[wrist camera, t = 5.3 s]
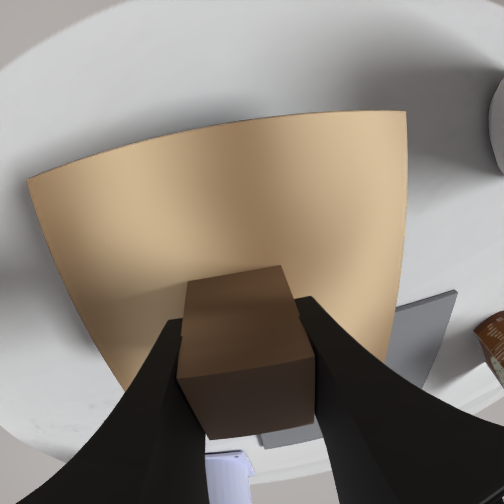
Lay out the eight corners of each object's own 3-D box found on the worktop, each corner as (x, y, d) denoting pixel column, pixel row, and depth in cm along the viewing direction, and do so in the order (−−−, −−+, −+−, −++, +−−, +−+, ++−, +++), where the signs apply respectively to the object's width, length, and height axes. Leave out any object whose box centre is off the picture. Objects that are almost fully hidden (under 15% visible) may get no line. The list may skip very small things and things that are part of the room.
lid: (145, 405, 14) (135, 486, 9) (38, 174, 8) (-57, 231, 4) (375, 366, 14) (411, 440, 10) (393, 109, 8) (502, 129, 4)
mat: (264, 446, 26) (264, 449, 25) (236, 342, 18) (236, 347, 18) (410, 406, 26) (411, 408, 26) (454, 289, 18) (457, 292, 18)
